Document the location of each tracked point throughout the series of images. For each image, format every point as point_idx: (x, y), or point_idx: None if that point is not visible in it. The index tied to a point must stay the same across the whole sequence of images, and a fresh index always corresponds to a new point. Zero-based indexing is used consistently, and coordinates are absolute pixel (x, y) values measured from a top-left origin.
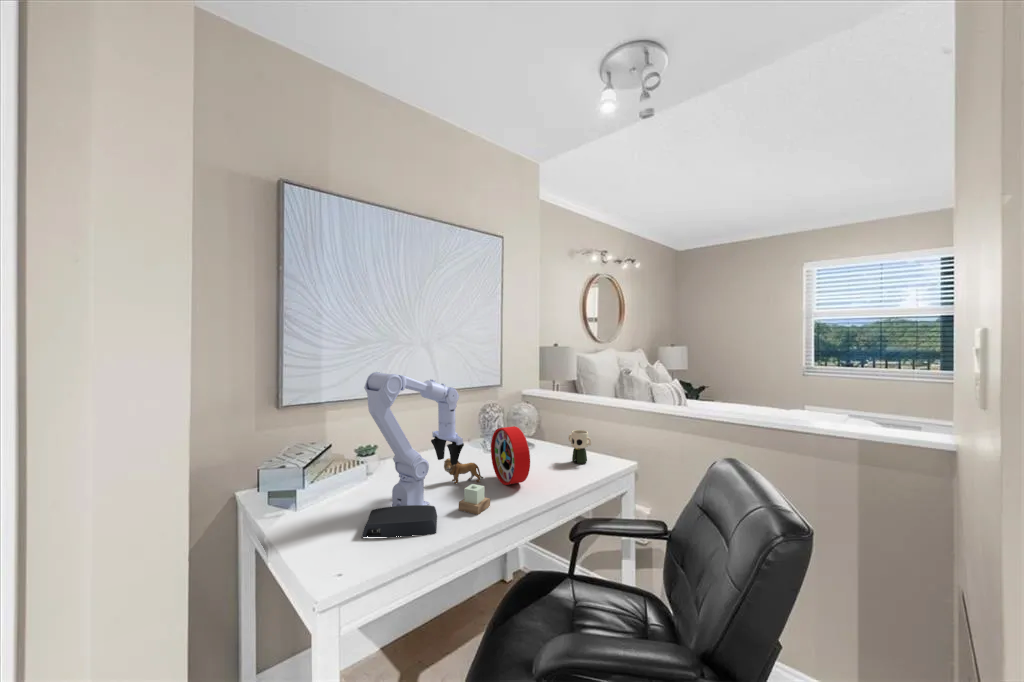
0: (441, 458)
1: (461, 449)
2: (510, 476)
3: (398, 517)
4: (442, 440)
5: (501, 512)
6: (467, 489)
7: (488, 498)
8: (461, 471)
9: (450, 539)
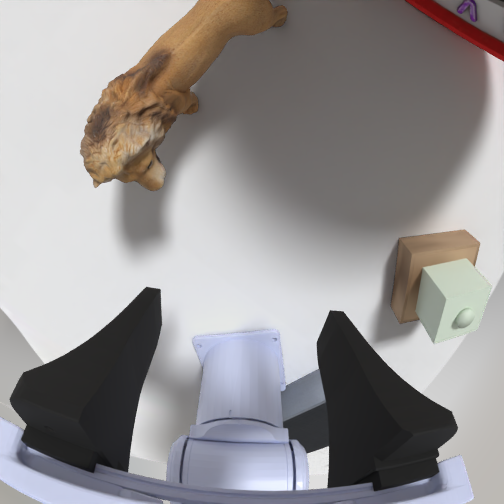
0: (158, 310)
1: (415, 390)
2: (476, 17)
3: (317, 439)
4: (106, 434)
5: (497, 243)
6: (444, 339)
7: (476, 247)
8: (198, 79)
9: (427, 383)
